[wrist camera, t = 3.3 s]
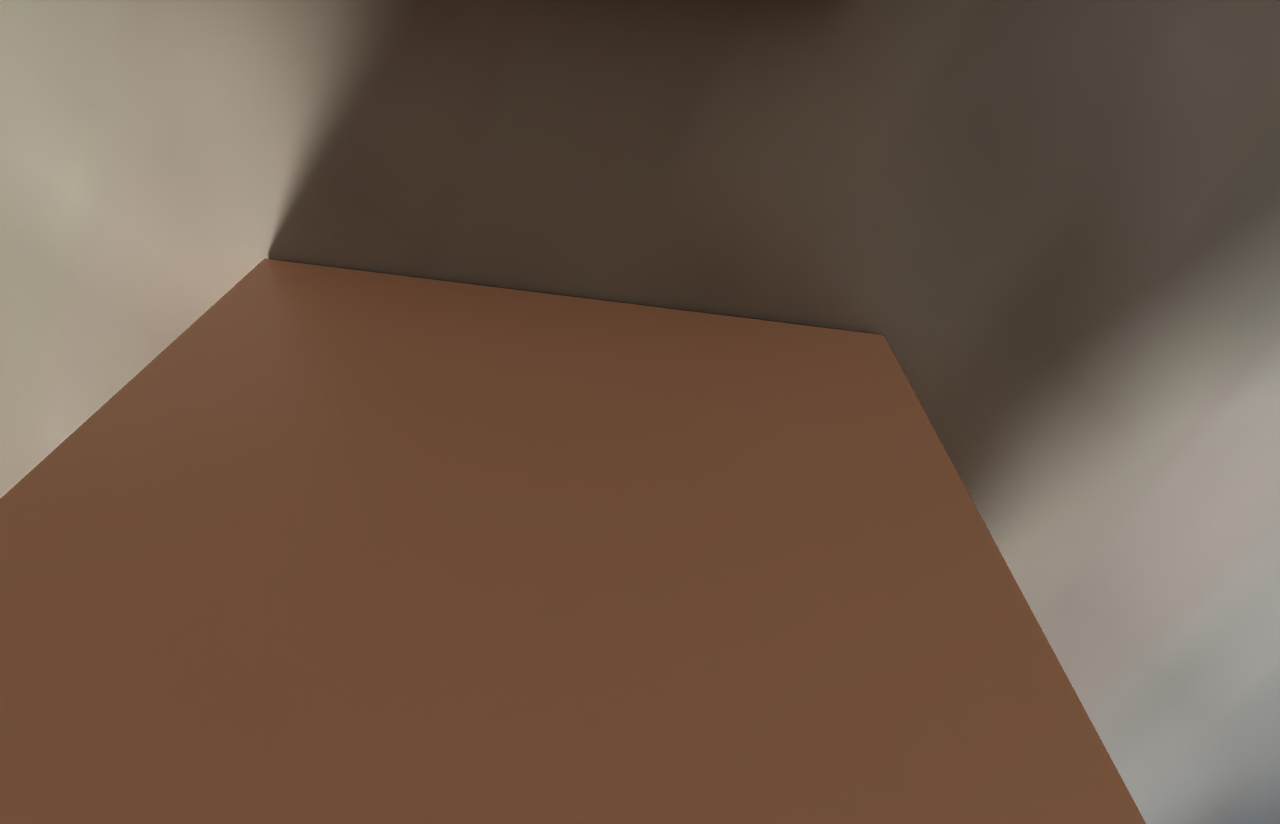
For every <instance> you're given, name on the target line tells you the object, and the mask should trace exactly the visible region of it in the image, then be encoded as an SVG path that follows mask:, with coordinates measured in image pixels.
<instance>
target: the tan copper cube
mask: <svg viewBox="0 0 1280 824" xmlns="http://www.w3.org/2000/svg"><path fill="white" fill-rule="evenodd" d="M0 824H1146V823H1145V821H1144V819H1143V817H1142V815H1141V814H1140V812H1139V810H1138V808H1137V806H1136V804H1135V802H1134V801H1133V799H1132V797H1131V795H1130V793H1129V791H1128V789H1127V787H1126V786H1125V784H1124V782H1123V780H1122V778H1121V776H1120V774H1119V773H1118V771H1117V769H1116V767H1115V765H1114V763H1113V761H1112V760H1111V758H1110V756H1109V754H1108V752H1107V750H1106V748H1105V747H1104V745H1103V743H1102V741H1101V739H1100V737H1099V735H1098V733H1097V732H1096V730H1095V728H1094V726H1093V724H1092V722H1091V720H1090V719H1089V717H1088V715H1087V713H1086V711H1085V709H1084V707H1083V706H1082V704H1081V702H1080V700H1079V698H1078V696H1077V694H1076V692H1075V691H1074V689H1073V687H1072V685H1071V683H1070V681H1069V679H1068V678H1067V676H1066V674H1065V672H1064V670H1063V668H1062V666H1061V665H1060V663H1059V661H1058V659H1057V657H1056V655H1055V653H1054V652H1053V650H1052V648H1051V646H1050V644H1049V642H1048V640H1047V638H1046V637H1045V635H1044V633H1043V631H1042V629H1041V627H1040V625H1039V624H1038V622H1037V620H1036V618H1035V616H1034V614H1033V612H1032V611H1031V609H1030V607H1029V605H1028V603H1027V601H1026V599H1025V598H1024V596H1023V594H1022V592H1021V590H1020V588H1019V586H1018V584H1017V583H1016V581H1015V579H1014V577H1013V575H1012V573H1011V571H1010V570H1009V568H1008V566H1007V564H1006V562H1005V560H1004V558H1003V557H1002V555H1001V553H1000V551H999V549H998V547H997V545H996V543H995V542H994V540H993V538H992V536H991V534H990V532H989V530H988V529H987V527H986V525H985V523H984V521H983V519H982V517H981V516H980V514H979V512H978V510H977V508H976V506H975V504H974V503H973V501H972V499H971V497H970V495H969V493H968V491H967V489H966V488H965V486H964V484H963V482H962V480H961V478H960V476H959V475H958V473H957V471H956V469H955V467H954V465H953V463H952V462H951V460H950V458H949V456H948V454H947V452H946V450H945V448H944V447H943V445H942V443H941V441H940V439H939V437H938V435H937V434H936V432H935V430H934V428H933V426H932V424H931V422H930V421H929V419H928V417H927V415H926V413H925V411H924V409H923V408H922V406H921V404H920V402H919V400H918V398H917V396H916V394H915V393H914V391H913V389H912V387H911V385H910V383H909V381H908V380H907V378H906V376H905V374H904V372H903V370H902V368H901V367H900V365H899V363H898V361H897V359H896V357H895V355H894V354H893V352H892V350H891V348H890V346H889V344H888V342H887V340H886V339H885V337H884V335H879V334H870V333H862V332H854V331H846V330H838V329H830V328H822V327H814V326H806V325H798V324H789V323H781V322H773V321H765V320H757V319H749V318H741V317H733V316H725V315H716V314H708V313H700V312H692V311H684V310H676V309H668V308H660V307H652V306H644V305H635V304H627V303H619V302H611V301H603V300H595V299H587V298H579V297H571V296H562V295H554V294H546V293H538V292H530V291H522V290H514V289H506V288H498V287H490V286H481V285H473V284H465V283H457V282H449V281H441V280H433V279H425V278H417V277H408V276H400V275H392V274H384V273H376V272H368V271H360V270H352V269H344V268H336V267H327V266H319V265H311V264H303V263H295V262H287V261H279V260H271V259H264V260H263V261H261V262H260V263H259V264H258V265H257V266H256V267H255V268H254V269H253V270H252V271H250V272H249V273H248V274H247V275H246V276H245V277H244V278H243V279H242V280H241V281H240V282H238V283H237V284H236V285H235V286H234V287H233V288H232V289H231V290H230V291H229V292H227V293H226V294H225V295H224V296H223V297H222V298H221V299H220V300H219V301H218V302H216V303H215V304H214V305H213V306H212V307H211V308H210V309H209V310H208V311H207V312H205V313H204V314H203V315H202V316H201V317H200V318H199V319H198V320H197V321H196V322H194V323H193V324H192V325H191V326H190V327H189V328H188V329H187V330H186V331H185V332H183V333H182V334H181V335H180V336H179V337H178V338H177V339H176V340H175V341H174V342H172V343H171V344H170V345H169V346H168V347H167V348H166V349H165V350H164V351H163V352H161V353H160V354H159V355H158V356H157V357H156V358H155V359H154V360H153V361H152V362H151V363H149V364H148V365H147V366H146V367H145V368H144V369H143V370H142V371H141V372H140V373H138V374H137V375H136V376H135V377H134V378H133V379H132V380H131V381H130V382H129V383H127V384H126V385H125V386H124V387H123V388H122V389H121V390H120V391H119V392H118V393H116V394H115V395H114V396H113V397H112V398H111V399H110V400H109V401H108V402H107V403H105V404H104V405H103V406H102V407H101V408H100V409H99V410H98V411H97V412H96V413H94V414H93V415H92V416H91V417H90V418H89V419H88V420H87V421H86V422H85V423H83V424H82V425H81V426H80V427H79V428H78V429H77V430H76V431H75V432H74V433H72V434H71V435H70V436H69V437H68V438H67V439H66V440H65V441H64V442H63V443H62V444H60V445H59V446H58V447H57V448H56V449H55V450H54V451H53V452H52V453H51V454H49V455H48V456H47V457H46V458H45V459H44V460H43V461H42V462H41V463H40V464H38V465H37V466H36V467H35V468H34V469H33V470H32V471H31V472H30V473H29V474H27V475H26V476H25V477H24V478H23V479H22V480H21V481H20V482H19V483H18V484H16V485H15V486H14V487H13V488H12V489H11V490H10V491H9V492H8V493H7V494H5V495H4V496H3V497H2V498H1V499H0Z"/></svg>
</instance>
